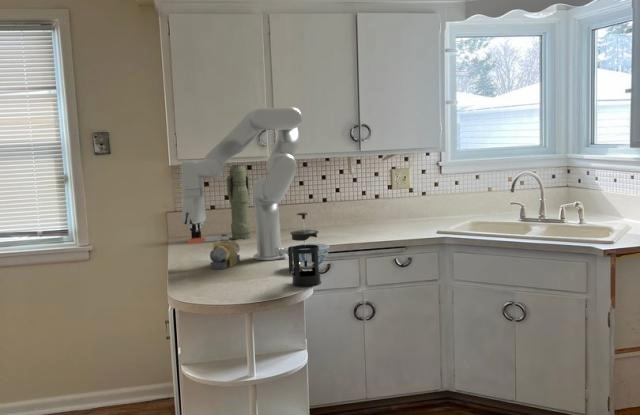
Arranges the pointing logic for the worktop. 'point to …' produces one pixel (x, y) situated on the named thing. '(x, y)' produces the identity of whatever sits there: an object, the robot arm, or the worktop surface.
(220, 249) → the ball valve
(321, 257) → the chinaware
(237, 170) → the green piece
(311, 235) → the french press
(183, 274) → the worktop surface
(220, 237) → the valve lever
